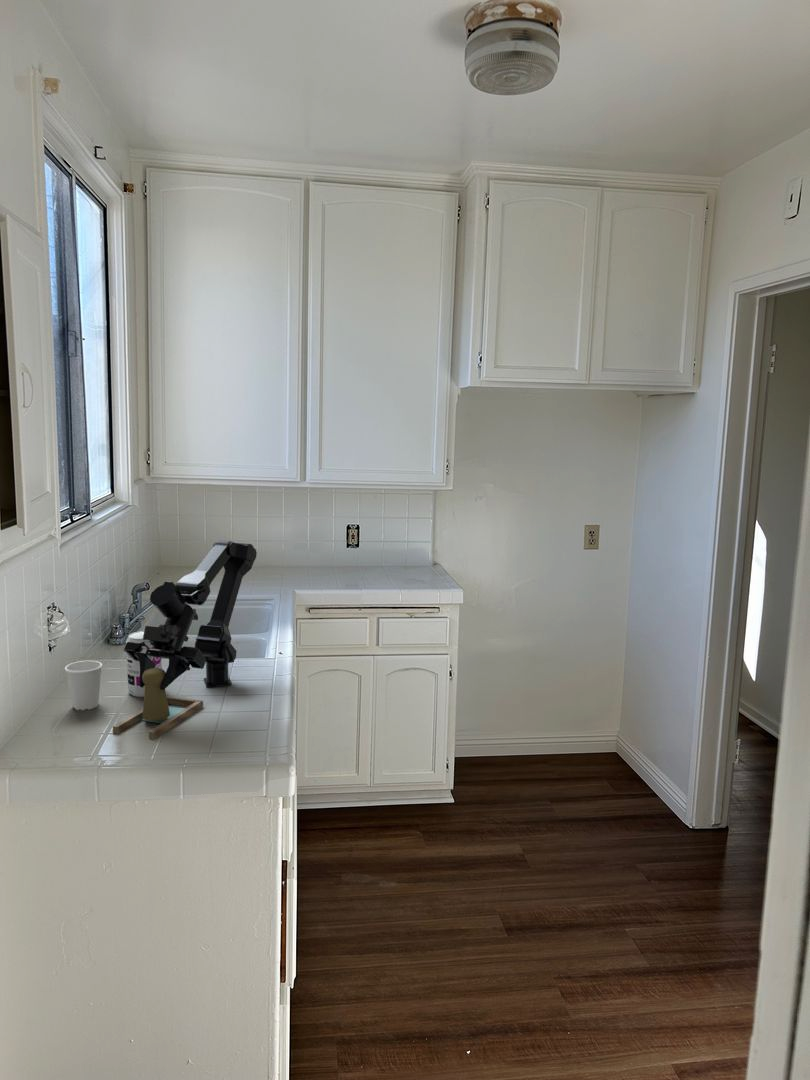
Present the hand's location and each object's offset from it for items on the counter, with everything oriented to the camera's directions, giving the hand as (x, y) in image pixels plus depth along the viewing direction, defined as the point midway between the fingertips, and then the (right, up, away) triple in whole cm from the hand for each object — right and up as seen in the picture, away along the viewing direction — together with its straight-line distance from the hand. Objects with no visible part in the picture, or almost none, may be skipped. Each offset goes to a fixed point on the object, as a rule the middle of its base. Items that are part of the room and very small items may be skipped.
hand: (151, 688), depth 181 cm
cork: (0, -7, +3) cm, 7 cm away
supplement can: (-8, -5, +21) cm, 23 cm away
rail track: (+1, -8, +4) cm, 9 cm away
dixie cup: (-19, -7, +12) cm, 24 cm away
